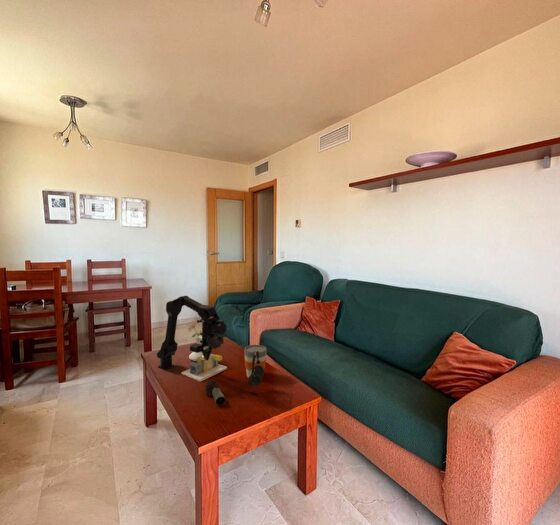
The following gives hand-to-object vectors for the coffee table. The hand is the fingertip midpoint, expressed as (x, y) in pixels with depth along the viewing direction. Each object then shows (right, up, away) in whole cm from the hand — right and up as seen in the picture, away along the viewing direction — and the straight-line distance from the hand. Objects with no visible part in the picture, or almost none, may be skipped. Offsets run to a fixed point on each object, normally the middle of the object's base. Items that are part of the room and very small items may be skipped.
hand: (207, 360), depth 154 cm
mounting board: (-4, -10, +11) cm, 16 cm away
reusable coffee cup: (+24, -11, +8) cm, 28 cm away
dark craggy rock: (+7, -12, -15) cm, 21 cm away
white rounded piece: (-13, -9, +28) cm, 32 cm away
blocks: (-4, -10, +12) cm, 16 cm away
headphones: (+24, -12, -10) cm, 29 cm away
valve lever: (0, -2, +8) cm, 9 cm away
